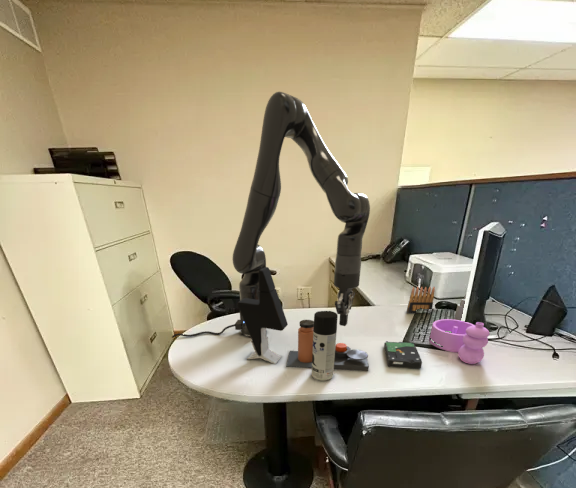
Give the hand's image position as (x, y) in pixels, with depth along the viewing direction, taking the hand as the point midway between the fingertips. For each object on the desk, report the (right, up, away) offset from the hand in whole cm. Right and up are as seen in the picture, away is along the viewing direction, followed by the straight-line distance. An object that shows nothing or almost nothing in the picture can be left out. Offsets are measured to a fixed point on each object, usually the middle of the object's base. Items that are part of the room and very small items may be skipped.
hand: (343, 324), depth 104 cm
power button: (0, -8, +4) cm, 9 cm away
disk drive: (+21, -11, +6) cm, 24 cm away
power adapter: (+56, +6, +34) cm, 65 cm away
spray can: (-7, -16, -4) cm, 18 cm away
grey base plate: (+1, -12, +3) cm, 13 cm away
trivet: (-12, -11, +5) cm, 17 cm away
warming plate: (+4, -10, 0) cm, 11 cm away
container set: (+43, -7, +12) cm, 45 cm away
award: (-26, -11, +7) cm, 28 cm away
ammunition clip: (+42, +11, +44) cm, 62 cm away
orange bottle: (-12, -11, +5) cm, 17 cm away
